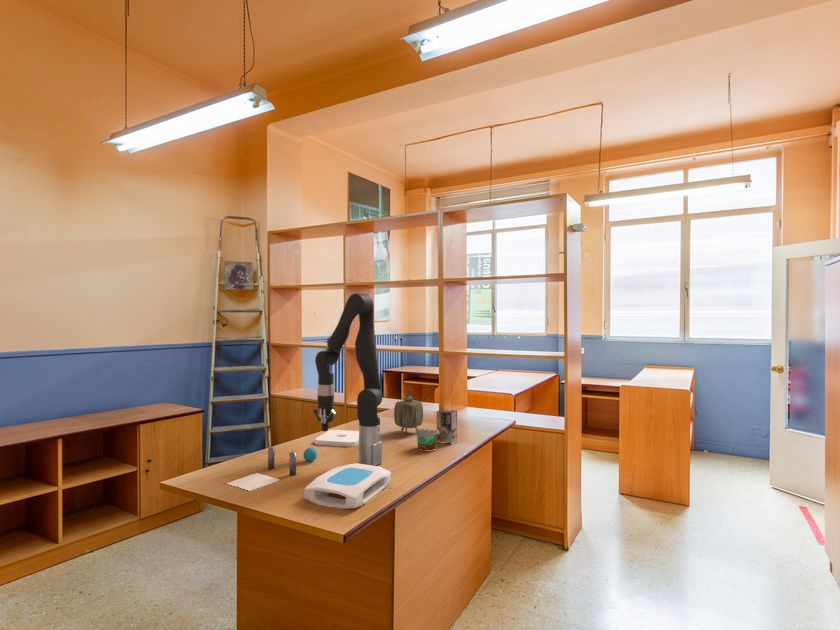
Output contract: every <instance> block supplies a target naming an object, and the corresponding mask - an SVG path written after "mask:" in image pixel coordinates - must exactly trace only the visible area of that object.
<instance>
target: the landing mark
mask: <svg viewBox="0 0 840 630" xmlns="http://www.w3.org/2000/svg"><path fill="white" fill-rule="evenodd" d="M278 481H280V479H279V478H276V477H271V476H269V475H265V474H261V473H258V472H256V473H255V472H254V473H252V474H250V475H246V476H244V477H240V478H238V479H235V480H232V481H230V482H227V483H225V484H226V485H228V484H229V485H228V486H231V485H232V486H231V487H234V486H235V487H234V488H237V487H236V486H238V485H239V486H238V487H240V488H242V489H241V490H243V489H245V490H244V491H246V490H248V491H247V492H249V491H250V492H253V491H256V490H257V488H258V489H261V488H263V487H265V486H268V485H271V484H275V483H276V482H278ZM240 488H239V489H240ZM252 490H253V491H252Z"/></svg>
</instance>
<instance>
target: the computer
mask: <svg viewBox="0 0 840 630" xmlns="http://www.w3.org/2000/svg"><path fill="white" fill-rule="evenodd" d="M358 443H359V430H343V429H331V430H330V429H328V431H326V432H323V433H322V434H321V435H318V436H317V437H316V438H315V439H314V444H315V445H317V444H318V445H317V446H328V445H330V446H332V447H342V446H346V447H345V448H351V447H350V446H353V447H356V446H357V444H358ZM358 445H359V444H358ZM347 446H348V447H347Z"/></svg>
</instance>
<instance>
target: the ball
mask: <svg viewBox="0 0 840 630" xmlns="http://www.w3.org/2000/svg"><path fill="white" fill-rule="evenodd" d="M302 456H303V459H304V460H305V461H306V462H308V463H311V462H314V461H316V458H317V456H318V452H317V450H316V448H314V447H308V448H306V449H305V450H304V451H303V454H302Z"/></svg>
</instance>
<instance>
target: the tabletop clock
mask: <svg viewBox="0 0 840 630" xmlns="http://www.w3.org/2000/svg"><path fill="white" fill-rule="evenodd" d="M405 390H410V391H412V393H411V394H410V393H409V392H408V393H405ZM402 393H403V394H404V398H403V400H400V401H397V402H395V405H394V408H393V410H394V411H393V412H394V413H393V414H394V415H393V419H394V424H395V425H396V426H397V427H400V429H401V431H404V430H405V431H404V434H405V435H407V434H408V429H416V428H418V427H419V426H422V425H423V421H424V405H423V403H422V402H421V401H419V400H416V399H413V397H412V396H413V395H414V394H415V393H414V390H413V388H410V387H405V388H404V389H403V390H402Z"/></svg>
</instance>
